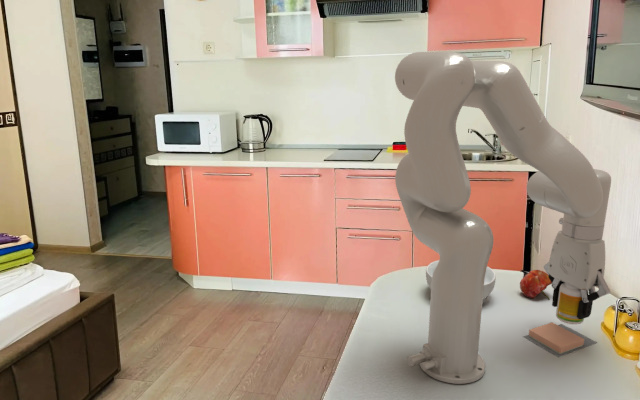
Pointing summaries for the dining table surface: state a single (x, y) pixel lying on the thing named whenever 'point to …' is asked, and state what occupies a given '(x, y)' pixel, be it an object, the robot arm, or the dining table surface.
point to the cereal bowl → (488, 280)
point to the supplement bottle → (568, 304)
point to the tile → (556, 338)
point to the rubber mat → (586, 343)
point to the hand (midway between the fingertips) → (570, 310)
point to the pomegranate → (534, 283)
